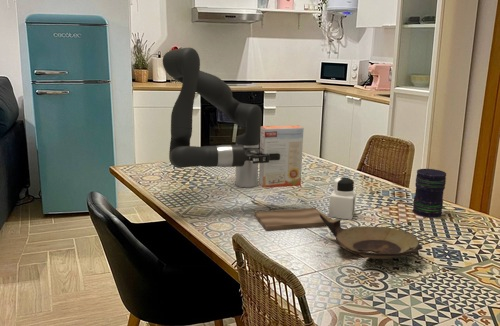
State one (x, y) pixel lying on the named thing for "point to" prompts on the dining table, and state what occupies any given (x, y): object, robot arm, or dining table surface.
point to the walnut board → (289, 219)
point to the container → (342, 199)
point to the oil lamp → (373, 240)
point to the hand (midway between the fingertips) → (276, 154)
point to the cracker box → (281, 156)
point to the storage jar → (429, 193)
